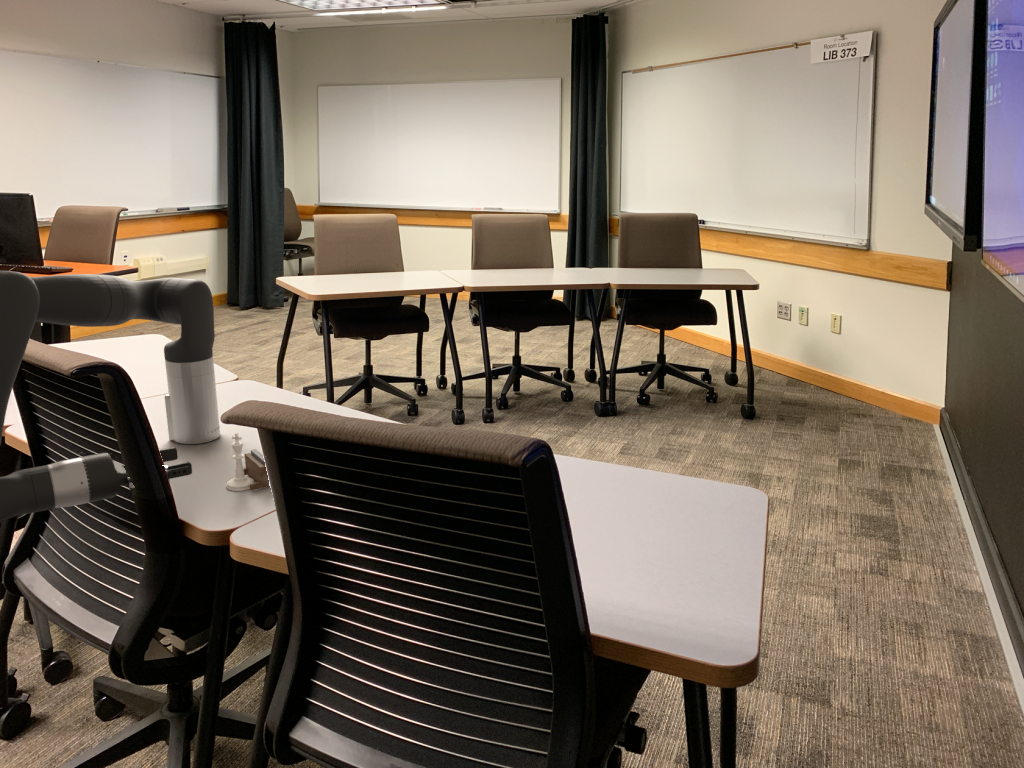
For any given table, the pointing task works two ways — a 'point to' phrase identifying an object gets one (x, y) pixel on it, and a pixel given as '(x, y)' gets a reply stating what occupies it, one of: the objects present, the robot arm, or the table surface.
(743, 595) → the table surface
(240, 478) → the chess piece
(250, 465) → the sliding block
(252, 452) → the backstop wall
